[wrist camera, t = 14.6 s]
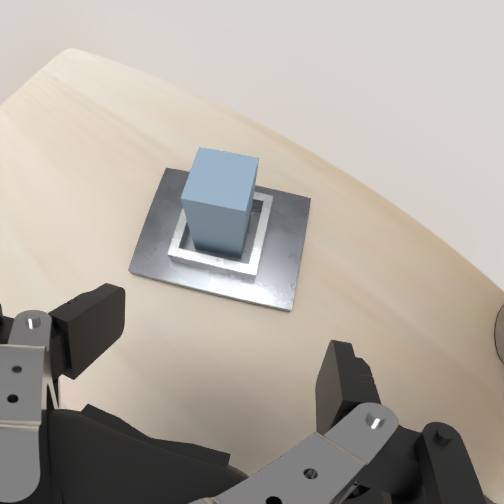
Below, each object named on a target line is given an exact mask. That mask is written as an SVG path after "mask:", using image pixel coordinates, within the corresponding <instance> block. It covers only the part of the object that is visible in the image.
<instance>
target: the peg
mask: <svg viewBox="0 0 504 504" xmlns="http://www.w3.org/2000/svg"><path fill="white" fill-rule="evenodd" d="M258 161H259V158H255V157H250V156H245V155H240V154H235V153H230V152H224V151H219V150H213V149H207V148H201V147H199V149H198V152H197V155H196V157H195V160H194V163H193V165H192V168H191V171H190V173H189V176H188V179H187V182H186V185H185V187H184V190H183V193H182V196H181V201H182V205H183V209H184V212H185V216H186V219H187V223H188V226H189V230H190V233H191V237H192V240H193V243H194V247H195V249H198V250H202V251H207V252H211V253H216V254H220V255H225V256H229V257H234V258H238V259H241V256H242V252H243V248H244V243H245V239H246V235H247V231H248V226H249V222H250V218H251V211H252V204H253V196H254V189H255V182H256V175H257V168H258Z"/></svg>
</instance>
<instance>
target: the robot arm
mask: <svg viewBox="0 0 504 504" xmlns="http://www.w3.org/2000/svg"><path fill="white" fill-rule="evenodd" d="M124 324H125V290H124V289H123V288H121V287H118V286H115V285H112V284H108V283H105V284H104V285H102V286H100V287H98V288H97V289H95V290H93V291H90V292H86V293H82V294H80V295H78V296H77V297H75V298H74V299H71V300H70V301H68V302H67V303H65V304H63V305H61V306H59V307H58V308H56V309H54V310H53V311H51V312H49V313H48V314H47V313H46V312H43V311H39V310H29V311H24V312H22V313H20V314H18V315H17V316H16V317H15V319H14V318H10V317H6V316H3V314H2V307H1V304H0V504H341V503H342V502H343V501H344V500H345V499H346V498H347V497H348V496H349V495H350V494H351V493H352V492H353V491H354V489H355V488H356V487H357V486H358V485H362V486H365V487H369V488H372V489H376V490H379V491H382V495H383V504H486V501H485V498H484V495H483V492H482V490H481V487H480V484H479V481H478V478H477V476H476V473H475V470H474V468H473V465H472V463H471V460H470V458H469V455H468V453H467V450H466V448H465V445H464V443H463V440H462V438H461V436H460V434H459V433H458V432H457V431H456V430H455V429H454V428H453V427H451V426H449V425H447V424H444V423H440V422H432V423H429V424H427V425H426V426H425V427H424V429H423V430H422V432H421V433H420V432H416V431H413V430H409V429H406V428H403V427H400V426H398V418H397V416H396V415H395V414H394V413H393V412H392V411H391V410H390V409H389V408H387V407H385V406H383V405H381V402H380V398H379V395H378V392H377V389H376V385H375V384H374V383H375V382H374V379H373V377H372V373H371V370H370V367H369V366H368V364H367V363H366V362H365V361H364V360H363V359H362V358H357V357H355V355H354V351H353V347H352V344H351V343H347V342H341V341H336V340H331V341H330V343H329V346H328V348H327V351H326V354H325V357H324V360H323V363H322V366H321V369H320V371H319V374H318V378H317V382H316V389H315V393H316V424H317V432H315V433H313V434H312V435H310V436H309V437H308V438H306V439H305V440H303V441H302V442H301V443H299V444H298V445H297V446H295V447H294V448H292V449H291V450H290V451H288V452H287V453H285V454H284V455H283V456H281V457H280V458H278V459H277V460H275V461H274V462H272V463H271V464H269V465H268V466H266V467H265V468H263V469H262V470H260V471H258V472H257V473H255V474H254V475H252V476H250V477H249V476H248V475H246V474H245V473H243V472H242V471H240V470H238V469H236V468H235V467H232V466H230V465H228V462H229V458H230V454H228V453H224V452H220V451H216V450H213V449H209V448H205V447H202V446H198V445H195V444H191V443H182V442H174V441H167V440H160V439H154V438H150V437H148V436H146V435H145V434H143V433H141V432H140V431H138V430H137V429H135V428H134V427H132V426H131V425H129V424H128V423H126V422H125V421H123V420H122V419H120V418H119V417H116V416H114V415H112V414H109V413H107V412H105V411H103V410H100V409H98V408H96V407H94V406H92V405H90V404H87V405H86V406H85V407H84V409H83V410H82V411H81V412H80V411H75V410H67V409H61V395H60V380H59V376H60V375H62V374H63V375H65V376H67V377H69V378H71V379H73V380H75V379H76V378H77V377H78V376H79V375H80V374H81V373H82V372H83V371H84V370H85V369H86V368H87V367H88V366H89V365H91V364H92V363H93V362H94V361H95V360H96V359H97V358H98V357H99V356H100V355H101V354H102V353H104V352H105V351H106V350H107V349H108V348H109V347H110V346H111V345H112V344H113V343H114V342H115V341H117V340H118V339H119V338H120V336H121V335H122V332H123V329H124ZM495 340H496V347H497V351H498V354H499V356H500V358H501V360H502V361H503V363H504V306H503V307H502V309H501V310H500V312H499V315H498V317H497V322H496V329H495Z"/></svg>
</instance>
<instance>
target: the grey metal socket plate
mask: <svg viewBox="0 0 504 504" xmlns="http://www.w3.org/2000/svg"><path fill="white" fill-rule="evenodd" d="M189 173H190V172H187V171H181V170H176V169H170V168H166V169H165V172H164V174H163V177H162V179H161V182H160V184H159V187H158V189H157V192H156V194H155V197H154V199H153V202H152V204H151V207H150V210H149V212H148V215H147V218H146V220H145V223H144V226H143V229H142V231H141V234H140V237H139V240H138V243H137V246H136V248H135V251H134V254H133V257H132V260H131V263H130V266H129V270H128V271H129V272H130V273H131V274H134V275H138V276H142V277H145V278H149V279H153V280H157V281H160V282H164V283H168V284H172V285H176V286H180V287H184V288H188V289H192V290H196V291H200V292H204V293H208V294H212V295H216V296H220V297H224V298H229V299H233V300H237V301H241V302H246V303H250V304H255V305H259V306H264V307H268V308H273V309H277V310H282V311H287V312H290V311H291V310H292V305H293V300H294V294H295V289H296V284H297V278H298V273H299V267H300V261H301V256H302V250H303V244H304V238H305V232H306V226H307V220H308V214H309V207H310V201H311V198H307V197H303V196H299V195H295V194H291V193H286V192H282V191H278V190H274V189H269V188H265V187H260V186H256V185H255V189H254V196H253V204H252V211H251V218H250V222H249V226H248V231H247V235H246V239H245V243H244V248H243V252H242V256H241V259H238V258H234V257H229V256H225V255H220V254H216V253H211V252H207V251H202V250H198V249H195V247H194V243H193V240H192V237H191V233H190V230H189V226H188V223H187V219H186V216H185V212H184V209H183V205H182V201H181V196H182V193H183V190H184V187H185V185H186V182H187V179H188V176H189Z"/></svg>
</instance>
